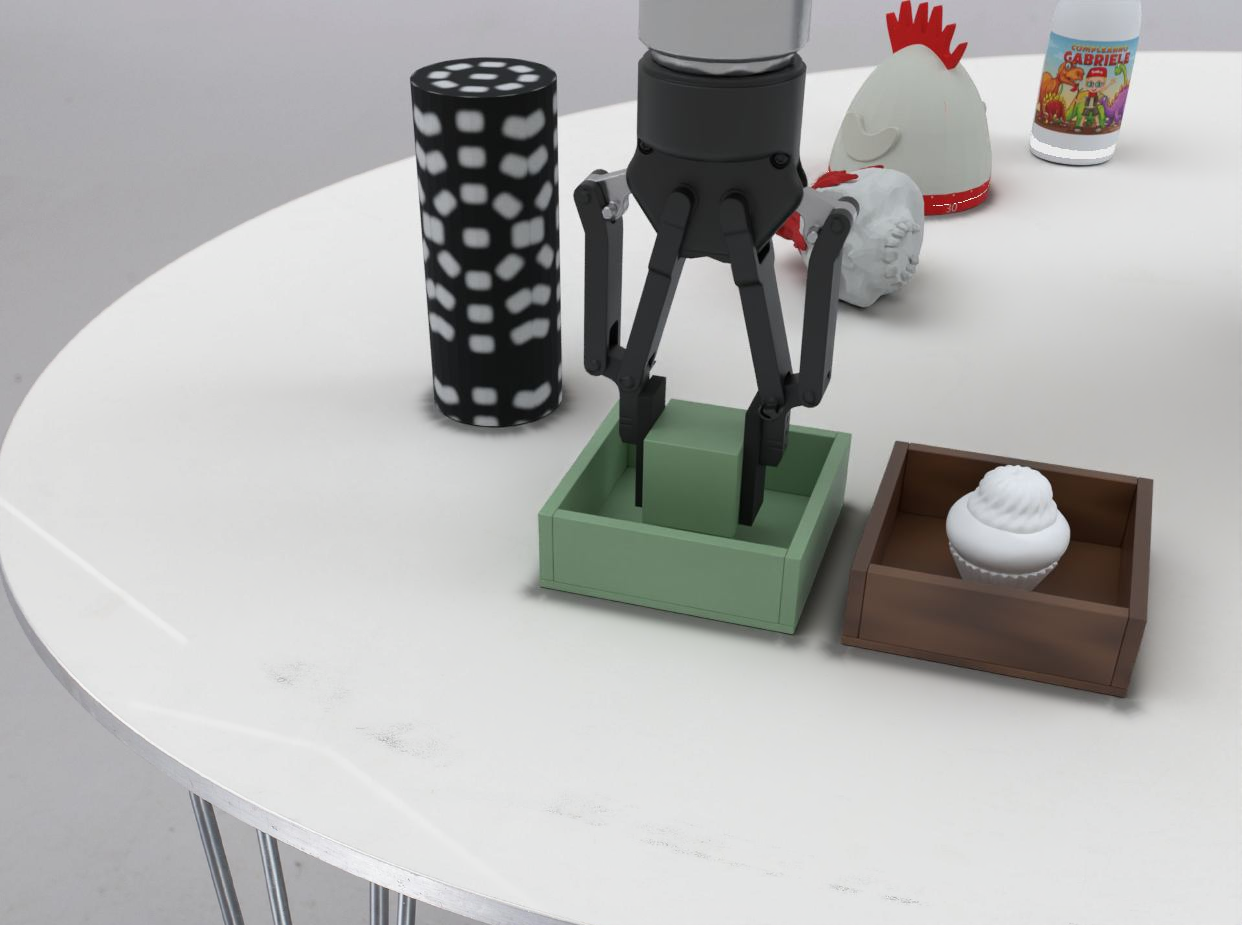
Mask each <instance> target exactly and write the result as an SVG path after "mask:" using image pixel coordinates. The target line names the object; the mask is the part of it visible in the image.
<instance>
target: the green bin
mask: <svg viewBox="0 0 1242 925" xmlns="http://www.w3.org/2000/svg"><path fill="white" fill-rule="evenodd" d="M666 405H667V404H665V407H666ZM852 437H853V433H851V432H844V431H837V430H830V429H824V428H817V427H810V426H804V425H798V424H797V425H796V424H790V425H789V436H788V447H787V449H786V451H785V453H784V455H783V457H782V459H781V461H780V463H779V465H778V466H777V467H772V466H766V474H765V486H764V499H763V503H762V505H761V508H760V510H759V512H758V514H757V516H756V518H755V520H754V522H753V525H752V527H751V526H745V525H739V526H738V528H737V530H736V532H735V534H734V536H733V538H727V537H722V536H716V535H710V534H704V533H699V532H693V531H687V530H682V529H676V528H670V527H665V526H659V525H653V524H647V523H643V522H642V508H641V507H635V481H636V445H634V444H627V443H622V440H621V438H620V435H619V399H618V400H617V402H616V403H615V404H614V405H613V407H612V409H611V410H610V412H609V413H608V414H607V415H606V417H605V419H604V420H602V422H601V424H600V425H599V427H598V428H597V429H596V430H595V432H594V434H593V435H592V436H591V438H590V439H589V441H588V443H587V444H586V445H585V446H584V448H583V449H582V451H581V452H580V454H579V455H578V456H577V458H576V459H575V461H574V462H573V464H572V465H571V466H570V467H569V469H568V470H567V471H566V473H565V475H564V476H563V478H562V479H561V480H560V482H559V483H558V485H557V486H556V487H555V489H554V490H553V492H552V493H551V494H550V496H549V497H548V499H547V500H546V501H545V503H544V505H543V506H542V508H540V510H539V512H538V513H537V524H538V525H537V526H538V528H537V529H538V530H537V531H538V560H539V561H538V562H539V564H538V565H539V586H540V588H547V589H551V590H557V591H560V592H561V591H563V592H567V593H571V594H576V595H577V594H578V595H582V596H583V595H584V596H587V597H588V596H589V597H594V598H599V599H604V600H609V601H613V602H614V601H615V602H619V603H625V604H631V605H635V606H636V605H637V606H641V607H645V608H652V609H657V610H661V611H662V610H663V611H667V612H672V613H678V614H682V615H687V616H693V617H698V618H699V617H700V618H704V619H710V620H714V621H719V622H724V623H725V622H726V623H730V624H736V625H737V624H738V625H740V626H741V625H742V626H746V627H751V628H756V629H762V630H767V631H772V632H777V633H784V634H789V635H794V634H795V632H796V628H797V627H798V624H799V622H800V618H801V616H802V613H803V611H804V608H805V605H806V603H807V600H808V597H809V595H810V593H811V590H812V587H813V584H814V582H815V580H816V576H817V574H818V572H819V569H820V566H821V563H822V561H823V559H824V556H825V554H826V550H827V548H828V545H829V543H830V540H831V537H832V534H833V533H834V530H835V527H836V524H837V522H838V519H839V516H840V514H841V511H842V508H843V506H844V504H845V495H846V488H847V480H848V472H849V471H848V470H849V462H850V454H851V444H852Z"/></svg>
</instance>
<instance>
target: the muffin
mask: <svg viewBox="0 0 1242 925" xmlns="http://www.w3.org/2000/svg"><path fill="white" fill-rule="evenodd" d="M1052 497H1053V493H1052V488H1051V485H1050V483H1049V481H1048V480H1047V479H1046V477H1044V476H1043V475H1042V474H1041V473H1040V472H1038V471H1036V470H1032V469H1031V468H1029V467H1021V466H1019V465H1016V466H1011V465H1007V466H1005V467H1003V466H1000V467H997V468H995V470H991V471H989V472H988V473H986V474H985V476H984V478H983V479H982V480H981V481H980V483H979V487H977V488H976V490H975V491H973V492H970V493H968V494H967V495H965V496H963V497H962V498H961V499H959V500H958V501H957V502H956V503H955V504H954V505H953V506H952V508H951V509H950V511H949V513H948V516H947V521H946V532H947V536H948V539H949V541H950V542H949V546H950V551H951V553H952V556H953V558H954V560H955V563H956V565H957V568H958V570H959V572H960V575H961V577H962V579H963V580H968V581H974V582H979V583H985V584H991V585H997V586H1002V587H1008V588H1014V589H1020V590H1025V591H1032V590H1033V589H1034V588H1035V587H1036V586H1037V585H1038V584H1039V583H1040V582H1041V581H1042V580H1043V579H1044V578H1045V577H1046V576H1047V575H1048V574H1049V573H1050V572H1051V571H1052V570H1053V569H1054V568H1055V567H1056V566H1057V564H1058V563H1057V562H1058V561H1059V560H1060V557H1061V556H1062V555H1063V554H1064V552H1065V551H1066V549H1067V547H1068V544H1069V540H1070V528H1069V525H1068V523H1067V521H1066V519H1065V518H1064V516H1063V515H1062V514H1061V513H1060V511H1059V510H1058V509H1057V505H1056V503H1055V502H1054V501H1053V499H1052Z"/></svg>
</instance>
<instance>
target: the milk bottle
mask: <svg viewBox="0 0 1242 925" xmlns="http://www.w3.org/2000/svg"><path fill="white" fill-rule="evenodd" d="M1142 14H1143V12H1142V0H1058V2H1057V5H1056V7H1055V10H1054V14H1053V15H1052V20H1051V24H1050V28H1049V33H1048V37H1047V42H1046V47H1045V48H1046V49H1045V53H1044V58H1043V62H1042V69H1041V74H1040V79H1039V86H1038V92H1037V97H1036V103H1035V108H1034V113H1033V118H1032V124H1031V131H1030V133H1031V132H1032V134H1033V136H1034V138H1036V139H1037V140H1038V141H1039V142H1042V143H1045V144H1048V145H1051V146H1052V147H1058V148H1061V149H1069V150H1073V151H1074V150H1077V151H1094V150H1095V151H1096V150H1100V149H1107V148H1108V147H1111V146H1112V145H1114V144H1115V143H1116V142H1117V143H1118V141H1117V140H1119V135H1120V133H1121V132H1120V131H1121V128H1122V122H1123V117H1124V113H1125V108H1126V103H1127V100H1128V93H1129V89H1130V84H1131V80H1132V76H1133V75H1132V74H1133V70H1134V64H1135V60H1136V55H1137V49H1138V44H1139V39H1140V33H1141V28H1142V27H1141V25H1142V17H1143V16H1142ZM1028 144H1029V149H1030V150H1029V151H1030V152H1031V153H1032V154H1033V155H1034V156H1036V157H1037V158H1040V159H1042V160H1046V161H1048V162H1051V163H1052V162H1053V163H1056V164H1064V165H1072V166H1076V165H1077V166H1089V165H1090V166H1091V165H1097V164H1102V163H1106V162H1108V161H1109V160H1111V159H1112V157H1113V156H1114V154H1115V153H1116V151H1115V152H1114V153H1113V154H1111V155H1109V156H1106V157H1102V158H1096V159H1070V158H1062V157H1056V156H1052V155H1048V154H1044V153H1042V152H1039V151H1037V150H1035V149H1034V148H1032V147H1031V145H1030V142H1029V143H1028Z"/></svg>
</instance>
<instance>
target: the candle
mask: <svg viewBox="0 0 1242 925" xmlns="http://www.w3.org/2000/svg"><path fill="white" fill-rule="evenodd" d="M883 168H884V166H883V165H875V166H869V167H866V168H861V169H859V170H856V171H853V172H849V173H846V170H842V171H831V172H828V171H827V172H824V173H823V174H822V175H821V176H820V177H818V178H817V180H815V183H813V184H812V185H811V186H810V187H811V188H813V189H815V190H817V191H819V192H821V193H823V194H825V195H828V196H830V197H832V198H834V199H836V200H838V199H840V198H841V197H844V196H850V197H853V198H854V199H856V200H857V202H858V203H859V207H860V211H859V215H858V217H857V219H856V221H855V223H854V225H853V227H852V229H851V231H850V233H849V235H848V237H847V239H846V241H845V243H844V246H843V256H842V266H841V277H840V287H839V298H838V300H842V301H844V302H846V303H848V304H851V305H853V306H857V307H860V308H869V307H871V306H872V305H873V304H874V303H876V301H878V299H879V298H880V297H881V296H884V295H891V294H892V293H894V292H896V291H898V290H901V289H903V288H905V287H906V285H908V282H909V281H910V280H911V278H912V275H914V274H915V272H916V270H917V266H918V264H919V263H920V253H921V249H922V245H923V242H924V235H925V234H924V233H925V215H924V200H923V196H922V193H921V191H920V189H919V188H918V186H917V185H916V184H915V182H914V181H913V180H911V178H910V177H909V176H908V175H906V174H905V173H902V172H899V171H896V170H893V169H883ZM803 228H804V221H803V218H802V216H801V215H800V214H799V213H797V212H794V213H793V214H792V215H791V216H790V218H789V219H788V220H787V221H786V222H785V223H784V224H783V226H782V227H781V228H780V229H779V230H778V231H777V232H776V233H775V235H776V236H778V237H780V238H782V239H784V240H786V241H792V242H793V248H794V249H797V251H798V253H799V254H800V255H801V257H802V260H803V263H804V264H805V266H806V271H807V270H808V263H809V258H810V255H811V251H812V249H813V246H814V245H812V244H810V243H809V242H807V241H806V239H805V238H804V236H803Z"/></svg>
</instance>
